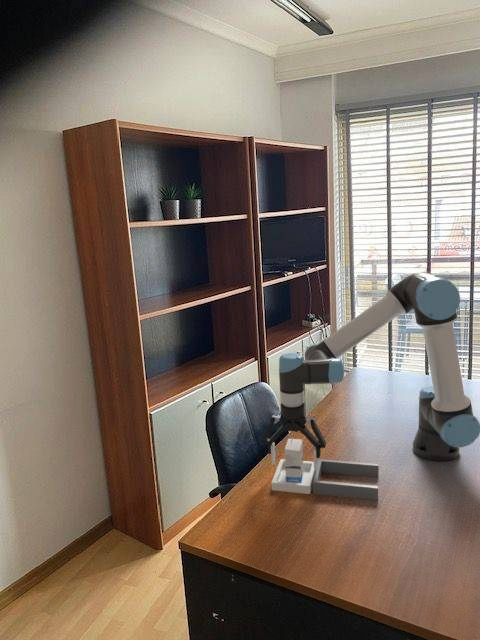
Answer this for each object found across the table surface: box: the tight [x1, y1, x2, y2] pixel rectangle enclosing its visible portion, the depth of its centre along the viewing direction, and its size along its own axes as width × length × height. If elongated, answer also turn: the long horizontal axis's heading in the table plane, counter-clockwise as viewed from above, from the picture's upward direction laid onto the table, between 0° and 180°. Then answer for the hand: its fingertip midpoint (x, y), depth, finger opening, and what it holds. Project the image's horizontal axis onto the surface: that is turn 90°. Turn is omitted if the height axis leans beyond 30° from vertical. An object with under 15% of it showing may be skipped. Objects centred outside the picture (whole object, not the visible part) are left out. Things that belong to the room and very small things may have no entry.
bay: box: [312, 458, 380, 501], centre depth 160 cm, size 19×14×4 cm
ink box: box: [284, 438, 304, 483], centre depth 163 cm, size 9×5×12 cm, turn 167°
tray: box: [271, 458, 316, 495], centre depth 164 cm, size 12×15×3 cm
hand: (294, 464), depth 163 cm, fingers open, 13 cm apart
